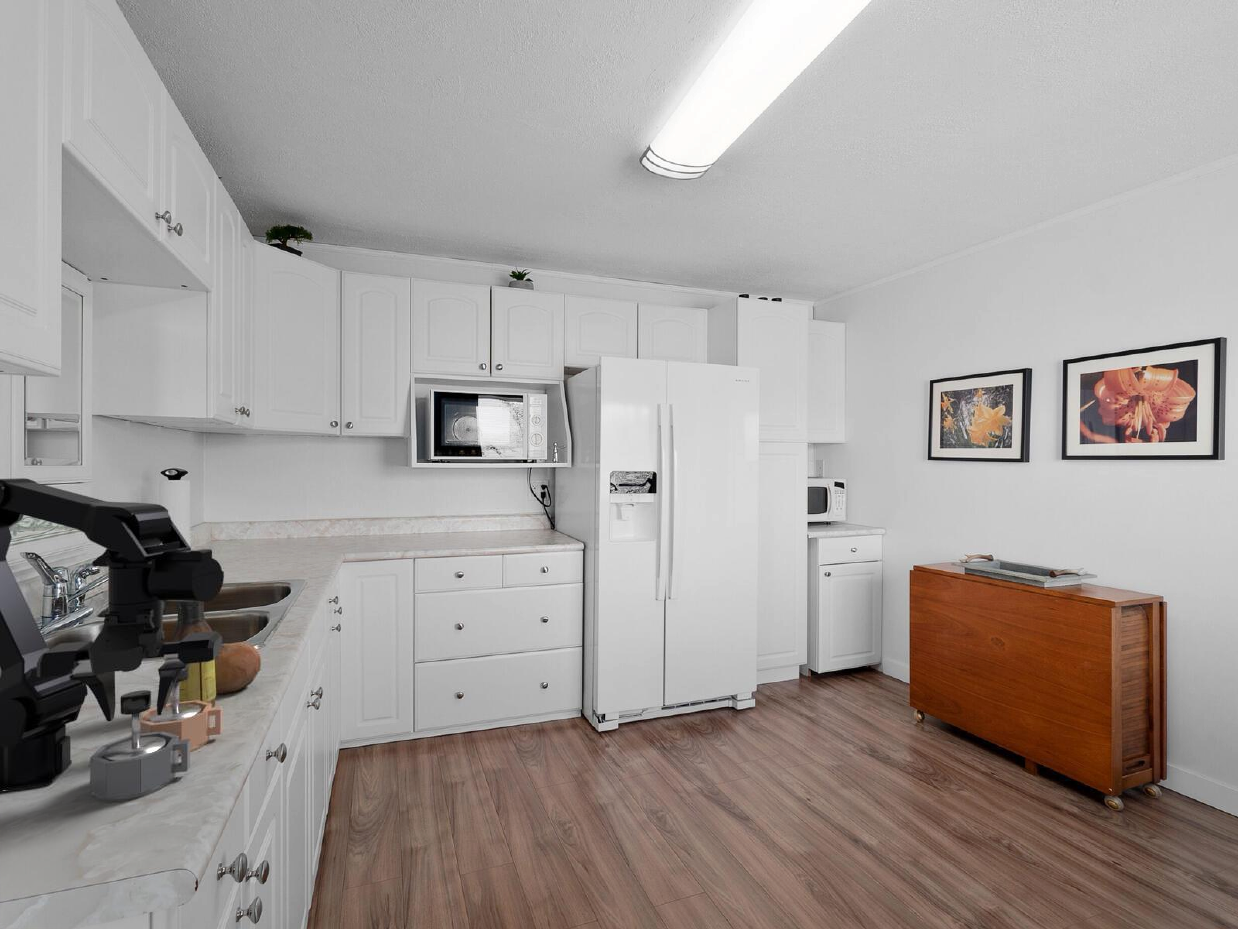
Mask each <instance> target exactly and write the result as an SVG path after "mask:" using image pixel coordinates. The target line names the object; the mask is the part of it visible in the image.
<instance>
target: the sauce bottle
mask: <svg viewBox="0 0 1238 929" xmlns="http://www.w3.org/2000/svg"><path fill="white" fill-rule="evenodd" d="M204 603H205V602H187V601H175V607H176V608H177V620H176V621H177V622H176V623H177V624H176V626H175V628H174V630H173V633H172V634H171V637H170V642H177V641H181V640H183V639H184V638H185V637H186V636H187V635H188V634H189V633H199V632H212V631H213V630H212V628H211V626H210V625H209V624H208V622H207V620H206V619H205V618H206V617H205V612H204V610H205V609H204V607H205V606H204ZM216 698H217V692H216V682H215V660H212V661H209V662H200V663H190V665H189V678H188V679H187V680H184V681H181V682H179V702H185V701H194V700H199V701H203V702H207V703H211V704H212V708H214V707H215V706H216Z"/></svg>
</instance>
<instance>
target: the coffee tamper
mask: <svg viewBox="0 0 1238 929" xmlns="http://www.w3.org/2000/svg"><path fill="white" fill-rule="evenodd" d="M151 708H152V691H151V690H149V689H148V690H147V689H145V690H142V689H141V690H136V691H135V690H134V691H130V692H128V693H125V694H123V695H121V696H120V714H121V715H125V716H126V715H128V716H129V715H131V735H132V740H129V741H125V742H122V743H120V744H117V745H115V746H113V747H111V748H110V749H108V750H107V751H106V752H105V759H106V760H109V761H115V760H123V759H130V758H137V757H142V756H144V755H147V754H149V753H152V752H154V751H157V750H159V749H162V748H164V747H165V746H166V740H165V739H164V738H162V737H142V738H140V717H141V713H144V712H146V711H148V710H151Z"/></svg>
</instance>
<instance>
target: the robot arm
mask: <svg viewBox="0 0 1238 929" xmlns="http://www.w3.org/2000/svg"><path fill="white" fill-rule="evenodd" d="M24 516H26V517H31V518H34V519H38V520H42V521H45V522H49V523H52V524H56V525H59V526H64V527H67V528H70V529H75V530H77V531H79V532H81V533H84V534H85V537H87V539H88V540H89V541H90V542H92V543H94V544H96V545H98V546H101V547H103V548H105V551H104V552H103V553H102V554H101V555H99V556H98V557H97V558H95V559H94V560H92V562H91V565H92V566H93V567H96V568H97V567H101V568H102V567H103V568H108V569H107V572H108V573H107V576H108V579H107V580H108V582H107V585H108V586H107V588H108V589H107V599H108V600H107V603H108V604H107V610H108V611H107V612H106V613H104V618H103V627H102V629H101V632H100V633H99V634H97V635H96V637H95V639H94V640H87V641H74V642H62V643H59V644H58V645H55V646H54V647H52V648H51V649H50V648H49V646H48V644H47V642H46V640H45V637H44V635H43V633H42V632H41V630H40V628H39V625H38V623H37V621H36V619H35V616H34V615H33V613H32V611H31V608H30V607H29V604H28V601H26V598H25V596H24V594H23V592H22V590H21V588H20V586H19V584H18V582H17V581H18V580H17V579H16V577H15V575H14V572H13V571H12V569H11V566H10V565H9V562H8V559H7V555H8V552H9V548H10V544H11V542H12V537H13V536H12V533H11V530H10V528H12V526H14V525H16V524H18V523H19V522H21V521H22V520H23V518H24ZM224 578H225V572H224V570H222V566H221V564H220V563H219V561H218V560H217V559H215V558H213V550H212V549H210V548H201V549H194V550H193V549H192V548H191V546H190V545H189V543H188V541H186V538H184V536H183V534H182V532H180V531H179V529H178V527H177V526H176V525H175V523H174V521H173V520H172V517H171V515H170V514H169V509H167V508H166V507H165V506H163V505H161V504H158V503H149V502H148V503H147V502H145V503H144V502H134V501H132V502H131V501H130V502H127V501H125V502H124V501H121V502H120V501H108V500H107V501H106V500H102V499H99V498H95V497H91V496H87V495H83V494H79V493H77V492H72V491H69V490H66V489H65V490H64V489H62V488H57V487H53V486H50V485H46V484H42V483H38V482H36V481H35V480H33V479H29V478H25V477H24V478H23V477H21V478H0V791H3V790H10V791H15V790H22V789H29V788H37V787H43V786H44V787H45V786H49V785H51V784H52V783H54V782H55V781H56V780H57V779H58V778H59V777H60V776H61V775H62V774H63V773H64V772H65V771H66V770H67V769H68V768H69V767H70V766H71V765H72V764H73V763H72V761H73V760H72V759H71V754H72V753H71V736H70V735H67V725H66V724H70V723H73V722H75V721H77V720H78V718H79V715H80V712H81V709H82V706H83V705H84V703H85V699H86V697H87V696H88V695H89V694H88V693H89V692H88V689H90V691H91V693H92V694H93V695H94V697H95V700H96V701H97V703H98V706H99V707H100V709H101V712H102V714H103V716H104V717H105V720H106V721H107V722H111V721H113V720H114V719H115V713H116V712H115V711H116V704H117V703H116V672H123V673H129V672H133V671H135V670H137V669H139V668H140V667H141V665H142V661H143V660H144V659H146V660H147V659H154V658H155V659H156V658H158V659H159V658H163V660H164V661H165V662H164V663H163V664H162V665H161V666H160V667H159V668H157V671H158V676H159V682H158V693H157V700H156V708H157V715H161V714H162V713H163V712H164V709H165V707H166V704H168V701H169V698H170V697H171V695H172V689H173V687H174V684H175V682H176V680H177V678H178V676H179V674H180V672H181V670H183V669H186V668H187V667H188V666H189V665H190V663H200V662H209V661H212V660H214V659H215V658H216V656H217V655H218V654H219V653H220V651H221V650H222V644H223V637H222V634H221V633H220V632H218V631H217V630H216V631H214V630H212V632H199V633H189V634H188V635H187V636H186V637H185V638H184V639H183V640H181V641H177V642H171V641H166V642H164V640H165V630H163V628H164V626H163V624H164V622H163V620H164V619H163V618H164V617H163V616H164V614H163V613H164V611H163V610H164V609H165V608H166V606H165V605H166V604H165V602H176V601H187V602H204V603H209V602H211V601H212V600H214V599H216V597H217V596H218V595H219V593H220V592H221V590H222V587H223V584H224ZM3 792H4V791H3Z"/></svg>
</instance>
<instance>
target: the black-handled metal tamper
mask: <svg viewBox="0 0 1238 929" xmlns="http://www.w3.org/2000/svg"><path fill="white" fill-rule="evenodd" d="M188 678H189V666H188V667H187V668H186V669H183V670H181V672H180V674H179V676H178V678H177V680H176V682H175V684H174V687H173V689H172V692H171V703H172V707H168V708H165V709H164V712H163V713H162V714H161V715H157V712H154V713H153V714H151V715H150V717H149V722H153V723H161V722H170V721H178V720H182V719H185V718H188V717H191V716H193V715H196V714H199V713H201V707H200V706H199V705H194V704H186V705H179V682H181V681H184V680H187V679H188Z"/></svg>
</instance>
